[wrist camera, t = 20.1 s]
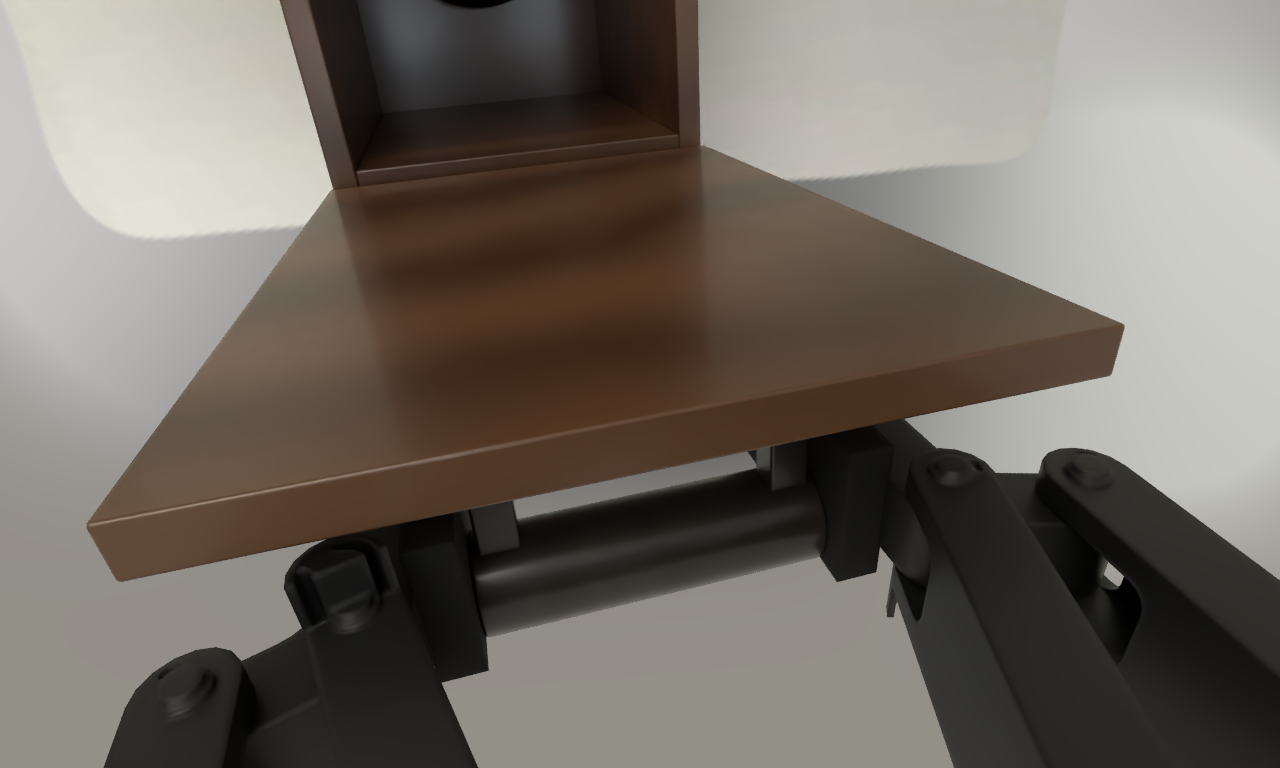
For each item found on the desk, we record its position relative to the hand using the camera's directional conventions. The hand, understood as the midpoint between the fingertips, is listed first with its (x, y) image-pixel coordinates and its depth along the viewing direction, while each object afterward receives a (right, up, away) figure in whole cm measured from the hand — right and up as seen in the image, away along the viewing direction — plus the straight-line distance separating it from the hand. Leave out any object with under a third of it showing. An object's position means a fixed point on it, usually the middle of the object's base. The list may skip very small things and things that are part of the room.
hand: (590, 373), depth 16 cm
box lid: (0, +3, -1) cm, 3 cm away
